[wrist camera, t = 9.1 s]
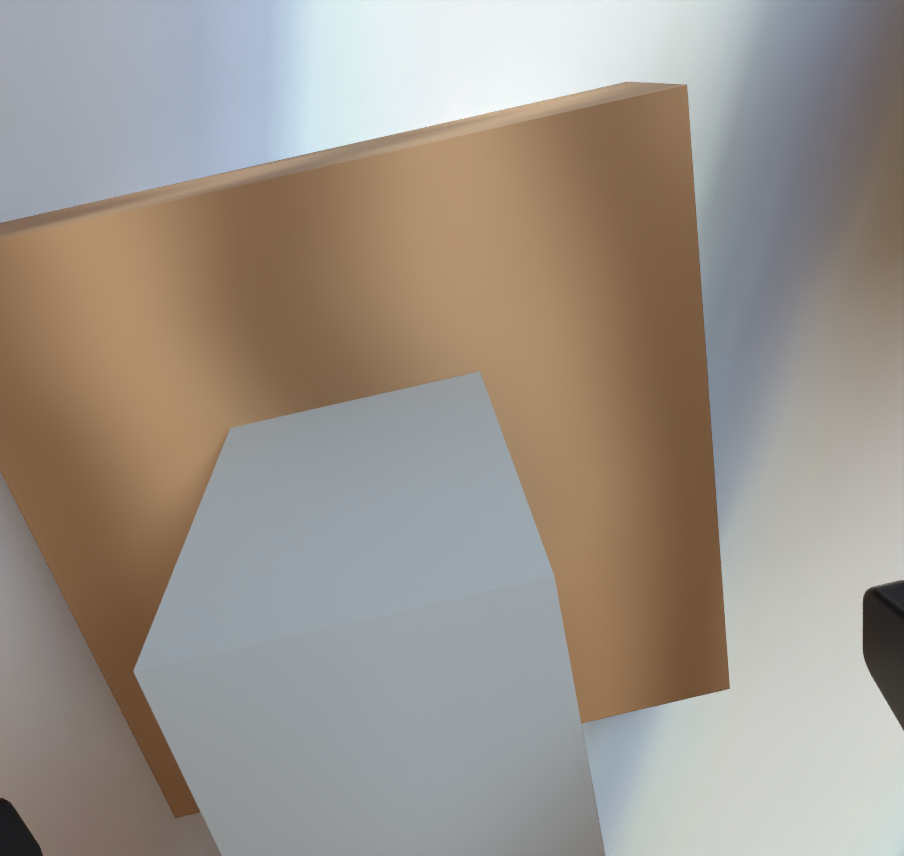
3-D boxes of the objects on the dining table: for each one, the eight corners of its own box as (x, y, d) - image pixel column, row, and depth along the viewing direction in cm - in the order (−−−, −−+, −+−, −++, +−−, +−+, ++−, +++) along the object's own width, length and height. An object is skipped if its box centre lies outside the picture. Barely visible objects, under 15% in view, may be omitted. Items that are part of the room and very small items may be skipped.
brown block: (619, 81, 18) (687, 84, 14) (672, 592, 23) (729, 688, 20) (-7, 222, 17) (-105, 262, 14) (204, 701, 23) (175, 817, 20)
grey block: (479, 371, 16) (554, 575, 9) (522, 578, 18) (606, 862, 11) (230, 427, 16) (133, 670, 9) (301, 628, 18) (261, 940, 11)
